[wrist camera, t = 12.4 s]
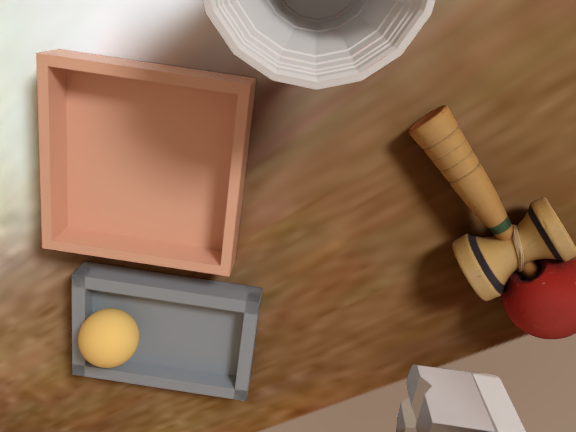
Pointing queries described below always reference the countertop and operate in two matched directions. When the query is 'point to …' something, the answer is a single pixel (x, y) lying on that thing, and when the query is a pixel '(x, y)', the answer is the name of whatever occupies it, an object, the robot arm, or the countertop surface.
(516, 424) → the robot arm
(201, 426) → the countertop surface
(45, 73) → the dish
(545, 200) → the kendama
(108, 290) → the tray
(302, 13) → the plastic cup
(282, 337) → the countertop surface
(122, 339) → the ball
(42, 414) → the countertop surface
